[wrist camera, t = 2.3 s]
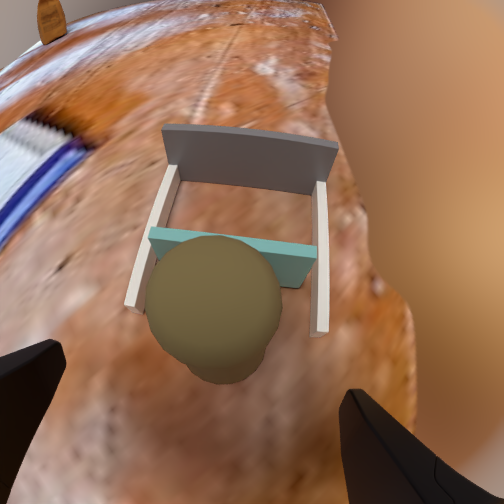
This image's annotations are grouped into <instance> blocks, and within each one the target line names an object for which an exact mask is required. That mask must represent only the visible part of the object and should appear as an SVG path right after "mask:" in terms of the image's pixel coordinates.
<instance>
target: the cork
mask: <svg viewBox="0 0 504 504" xmlns="http://www.w3.org/2000/svg"><path fill="white" fill-rule="evenodd" d="M145 311H146V315H147V319H148V322H149V326H150V329H151V332H152V333H153V335H154V336H155V338H156V339H157V341H158V342H159V344H160V345H161V347H162V348H163V349H164V350H165V351H166V352H168V353H169V354H170V355H172V356H173V357H174V358H176V359H177V360H179V361H180V362H181V363H184V364H186V365H187V367H188V368H189V369H190V370H191V372H192V373H193V374H195V375H196V376H198V377H199V378H201V379H202V380H204V381H207V382H210V383H214V384H233V383H236V382H239V381H241V380H244V379H246V378H247V377H248V376H249V375H251V374H252V373H253V372H254V371H256V369H257V368H258V366H259V365H260V363H261V361H262V360H263V357H264V353H265V349H266V346H267V345H268V343H269V341H270V340H271V338H272V337H273V335H274V333H275V332H276V330H277V329H278V325H279V321H280V316H281V312H282V298H281V289H280V284H279V281H278V279H277V277H276V275H275V273H274V270H273V268H272V266H271V264H270V263H269V262H268V261H267V260H266V259H265V258H264V257H263V256H262V254H261V253H260V252H259V251H258V250H257V249H255V248H253V247H251V246H250V245H248V244H246V243H245V242H243V241H241V240H238V239H234V238H230V237H226V236H222V235H210V236H199V237H196V238H193V239H189V240H186V241H183V242H182V243H180V244H178V245H177V246H175V247H174V248H172V249H171V250H169V251H168V252H167V253H165V255H164V256H163V257H162V258H161V260H160V261H159V262H158V263H157V264H156V266H155V267H154V268H153V270H152V273H151V275H150V278H149V280H148V283H147V285H146V294H145Z"/></svg>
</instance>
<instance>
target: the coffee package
mask: <svg viewBox="0 0 504 504" xmlns="http://www.w3.org/2000/svg"><path fill="white" fill-rule="evenodd" d="M37 22H38V29H39V34H40V38H41V41H42V43H43V44H45V45H46V44H48V43H50V42H52V41H54V40H55V39H57V38H59V37H61V36H62V35H64V34H65V33H67V29H66V20H65V15H64V11H63V9H62V6H61V4H60V1H59V0H39V3H38V12H37Z"/></svg>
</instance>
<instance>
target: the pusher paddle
mask: <svg viewBox="0 0 504 504" xmlns="http://www.w3.org/2000/svg"><path fill="white" fill-rule="evenodd" d="M210 235H222V236H226V237H230V238H234V239H238V240H241V241H243V242H245V243H246V244H248V245H250V246H251V247H253V248H255V249H257V250H258V251H259V252H260V253H261V254H262V256H263V257H264V258H265V259H266V260H267V261H268V262H269V263H270V264H271V266H272V268H273V270H274V273H275V275H276V277H277V279H278V281H279V284H280V286H282V287H291V288H300V286H301V284H302V283H303V281H304V279H305V278H306V276H307V274H308V273H309V271H310V269H311V267H312V266H313V264H314V262H315V261H316V259H317V246H311V245H304V244H296V243H288V242H280V241H272V240H264V239H256V238H248V237H240V236H231V235H223V234H214V233H206V232H197V231H188V230H180V229H171V228H162V227H153V226H151V228H150V231H149V235H148V240H149V242H150V244H151V246H152V248H153V250H154V252H155V254H156V256H157V258H158V259H159V261H160V260H161V258H162V257H163V256H164V255H165V253H167V252H168V251H169V250H171V249H172V248H174V247H175V246H177V245H178V244H180V243H182V242H183V241H186V240H189V239H193V238H196V237H199V236H210Z"/></svg>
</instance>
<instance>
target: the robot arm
mask: <svg viewBox="0 0 504 504" xmlns="http://www.w3.org/2000/svg"><path fill="white" fill-rule="evenodd" d="M65 368H66V359H65V355H64V352H63V349H62V345H61V343H60V342H58V341H56V340H53V339H48V340H45V341H42V342H40V343H37V344H34V345H32V346H29V347H26V348H24V349H21V350H18V351H16V352H13V353H10V354H7V355H5V356H2V357H0V504H6V503H7V500H8V498H9V495H10V492H11V489H12V486H13V484H14V481H15V479H16V476H17V474H18V471H19V469H20V466H21V464H22V462H23V459H24V457H25V455H26V452H27V450H28V448H29V446H30V444H31V442H32V439H33V437H34V435H35V433H36V431H37V429H38V427H39V425H40V423H41V421H42V419H43V417H44V415H45V413H46V411H47V409H48V407H49V405H50V403H51V401H52V399H53V397H54V394H55V392H56V389H57V387H58V384H59V382H60V380H61V377H62V375H63V373H64V371H65ZM339 426H340V442H341V456H342V462H343V468H344V474H345V480H346V486H347V492H348V498H349V504H504V499H503V498H499V497H496V496H494V495H492V494H490V493H489V492H487V491H485V490H484V489H482V488H481V487H479V486H477V485H476V484H474V483H473V482H471V481H470V480H468V479H467V478H465V477H464V476H462V475H461V474H459V473H458V472H456V471H455V470H454V469H453V468H451V467H450V466H449V465H447V464H446V463H445V462H444V461H443V460H442V459H440V458H439V457H438V456H436V454H434V453H433V452H432V451H431V450H430V449H429V448H427V447H426V446H425V445H424V444H423V443H422V442H420V441H419V440H418V439H417V438H416V437H415V436H414V435H413V434H411V433H410V432H409V431H408V430H407V429H406V428H405V427H404V426H402V425H401V424H400V423H399V422H398V421H397V420H396V419H395V418H393V417H392V416H391V415H390V414H389V413H388V412H387V411H386V410H384V409H383V408H382V407H381V406H380V405H379V404H378V403H377V402H376V401H375V400H373V399H372V398H371V397H370V396H369V395H368V394H367V393H366V392H365V391H364V390H362V389H349V390H348V391H347V392H346V394H345V396H344V399H343V401H342V403H341V405H340V407H339Z"/></svg>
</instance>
